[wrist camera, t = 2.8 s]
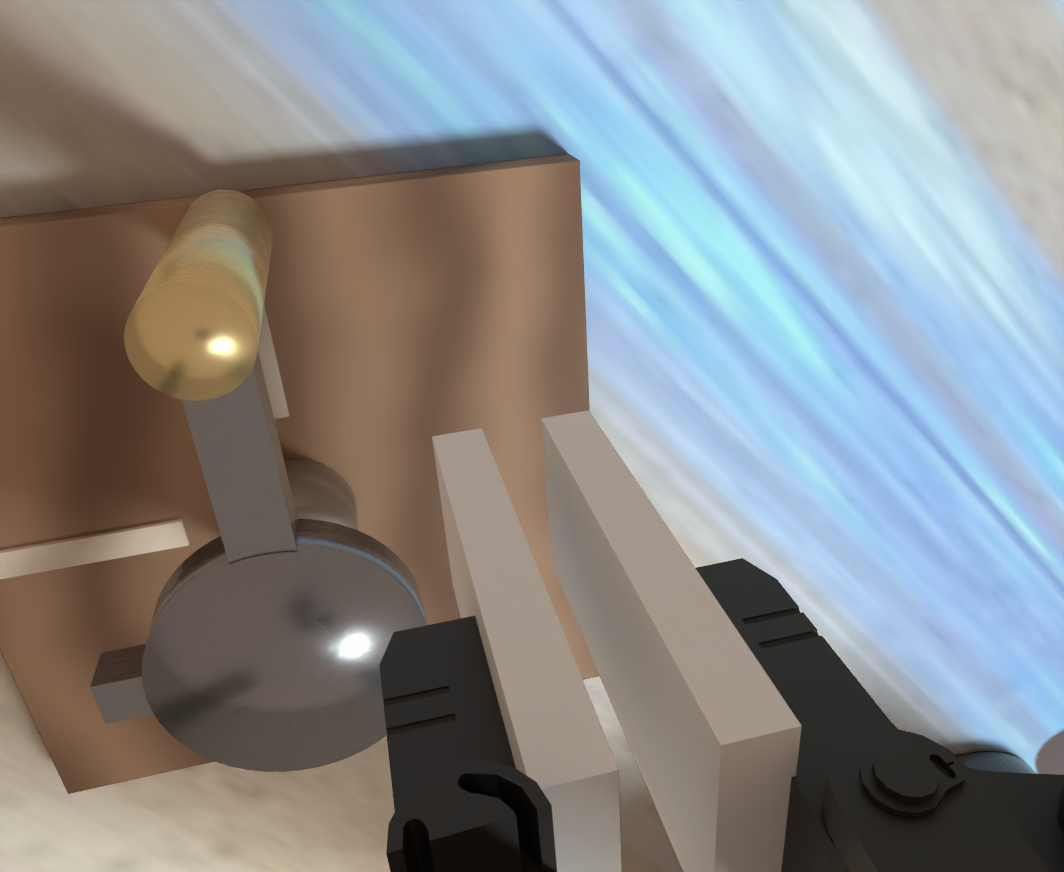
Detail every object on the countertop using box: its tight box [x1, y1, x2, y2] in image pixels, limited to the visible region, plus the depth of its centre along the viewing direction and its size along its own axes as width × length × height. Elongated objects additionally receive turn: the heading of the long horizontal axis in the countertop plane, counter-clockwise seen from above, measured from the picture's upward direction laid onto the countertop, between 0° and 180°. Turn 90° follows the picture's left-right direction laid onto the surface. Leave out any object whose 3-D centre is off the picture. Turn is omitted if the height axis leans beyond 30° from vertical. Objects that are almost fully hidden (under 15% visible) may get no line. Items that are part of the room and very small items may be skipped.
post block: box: [0, 154, 599, 794], centre depth 34 cm, size 26×26×9 cm
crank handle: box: [90, 189, 427, 772], centre depth 29 cm, size 10×18×11 cm, turn 4°
